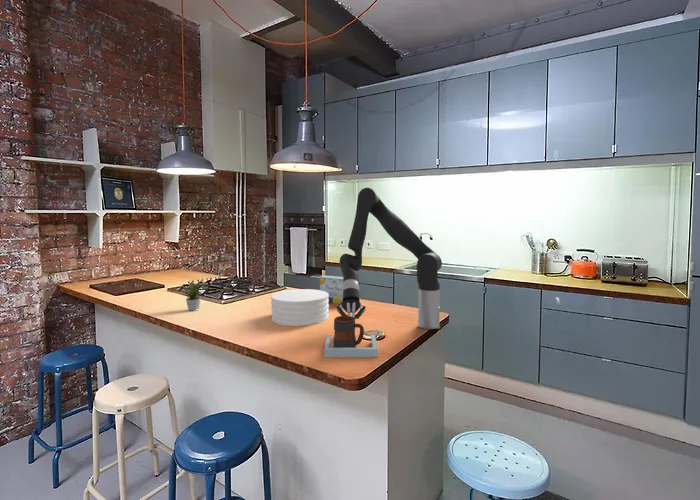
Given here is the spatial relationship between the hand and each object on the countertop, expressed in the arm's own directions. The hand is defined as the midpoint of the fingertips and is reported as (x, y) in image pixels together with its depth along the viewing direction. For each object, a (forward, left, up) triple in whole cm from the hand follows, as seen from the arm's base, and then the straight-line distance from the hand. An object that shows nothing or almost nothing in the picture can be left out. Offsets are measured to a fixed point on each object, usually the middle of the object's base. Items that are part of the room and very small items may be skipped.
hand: (351, 327), depth 156 cm
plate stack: (+30, -25, -5) cm, 40 cm away
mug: (-1, +14, -4) cm, 15 cm away
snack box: (+18, -58, -4) cm, 60 cm away
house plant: (+90, -31, -4) cm, 95 cm away
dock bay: (-2, +13, -4) cm, 14 cm away
